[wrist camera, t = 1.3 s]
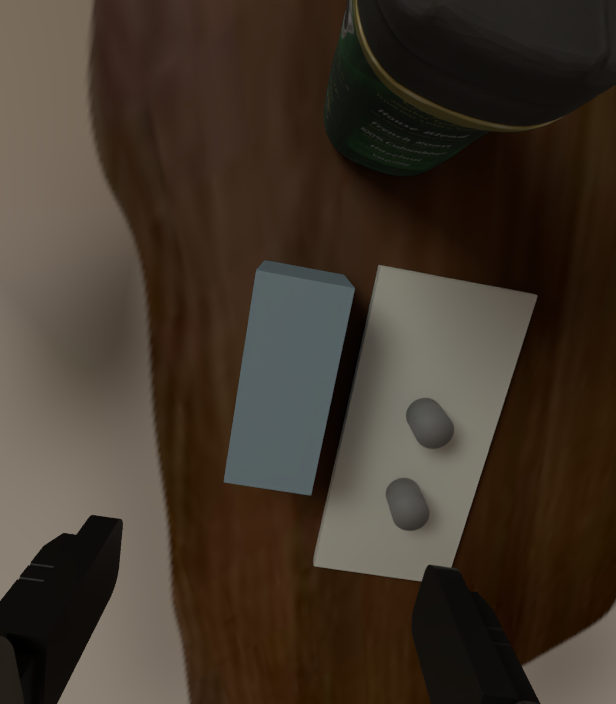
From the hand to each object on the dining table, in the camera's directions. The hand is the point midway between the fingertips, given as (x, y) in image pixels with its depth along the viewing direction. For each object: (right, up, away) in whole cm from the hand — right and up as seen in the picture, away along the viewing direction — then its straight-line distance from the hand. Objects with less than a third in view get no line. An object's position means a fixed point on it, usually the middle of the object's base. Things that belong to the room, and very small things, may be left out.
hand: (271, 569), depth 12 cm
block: (0, +5, +18) cm, 19 cm away
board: (+8, 0, +20) cm, 22 cm away
